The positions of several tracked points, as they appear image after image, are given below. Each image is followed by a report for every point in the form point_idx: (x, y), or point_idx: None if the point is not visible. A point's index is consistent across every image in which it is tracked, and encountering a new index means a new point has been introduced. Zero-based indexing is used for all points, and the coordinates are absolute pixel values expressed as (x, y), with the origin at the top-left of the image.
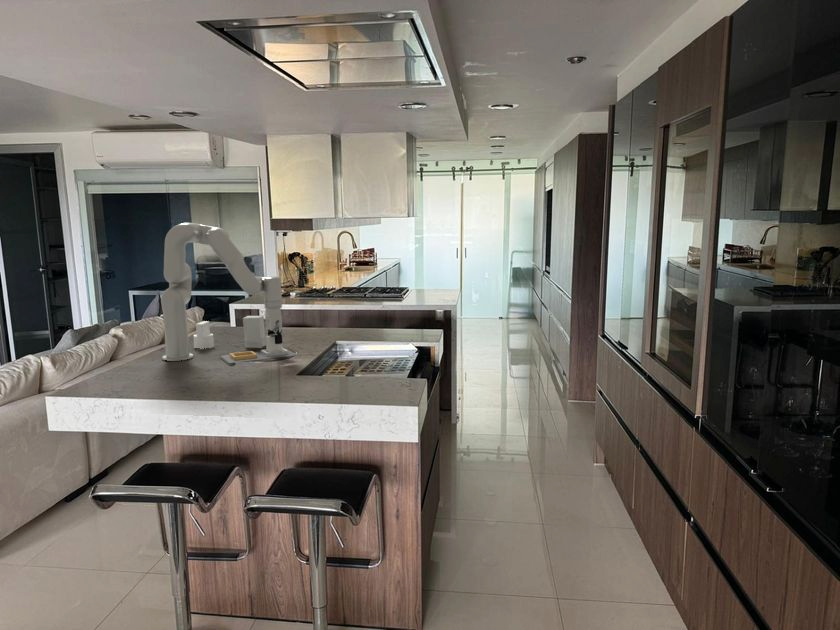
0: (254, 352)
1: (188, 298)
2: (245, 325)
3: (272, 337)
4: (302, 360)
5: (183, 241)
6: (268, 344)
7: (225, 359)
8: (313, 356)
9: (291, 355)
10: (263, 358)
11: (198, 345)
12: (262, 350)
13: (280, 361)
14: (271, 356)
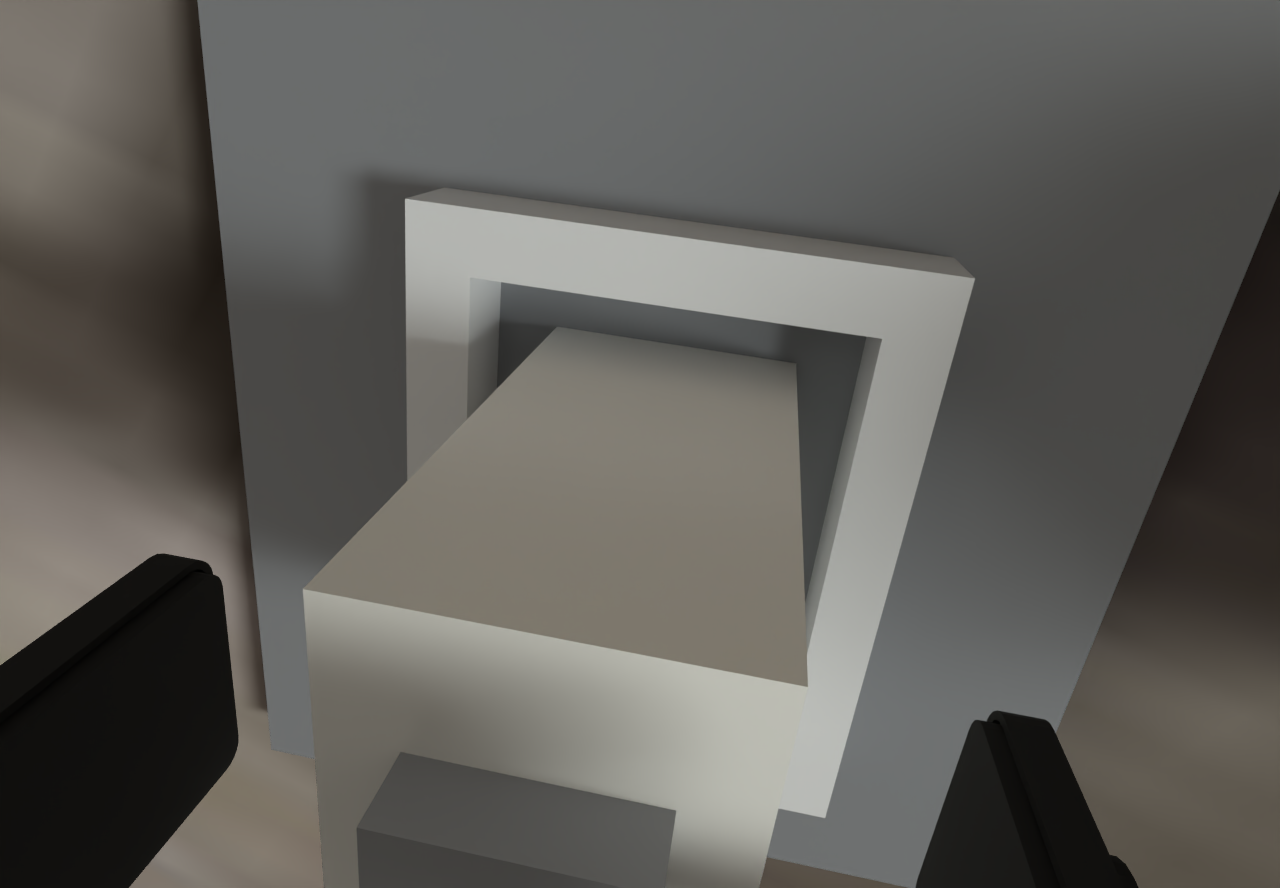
0: (1213, 136)
1: None
2: None
3: (322, 737)
4: (23, 642)
5: None
6: (525, 445)
7: None
8: (232, 882)
9: (275, 652)
10: (252, 6)
11: None
12: (854, 283)
13: (78, 315)
14: (382, 295)
